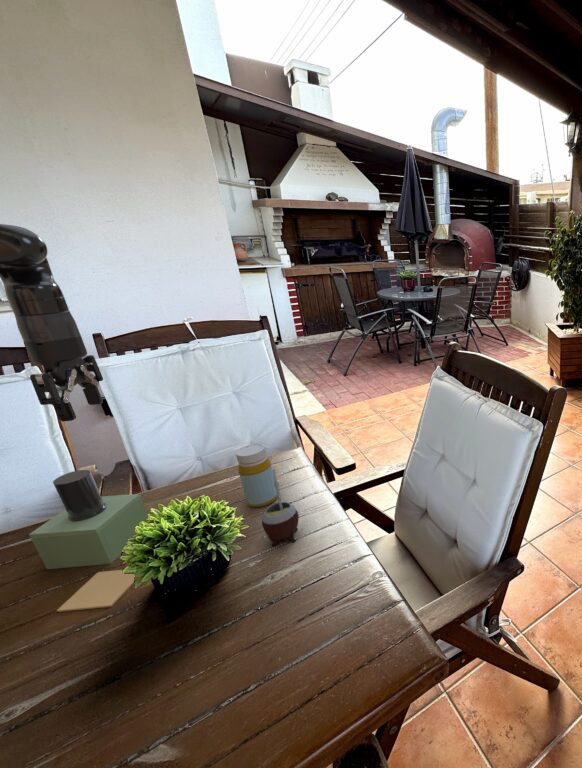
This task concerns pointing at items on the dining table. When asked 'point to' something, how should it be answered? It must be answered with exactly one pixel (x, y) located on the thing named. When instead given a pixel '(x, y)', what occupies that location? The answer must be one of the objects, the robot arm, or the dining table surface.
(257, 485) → the bottle
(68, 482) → the holder
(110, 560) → the block
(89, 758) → the dining table surface
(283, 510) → the mate gourd
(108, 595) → the coaster
